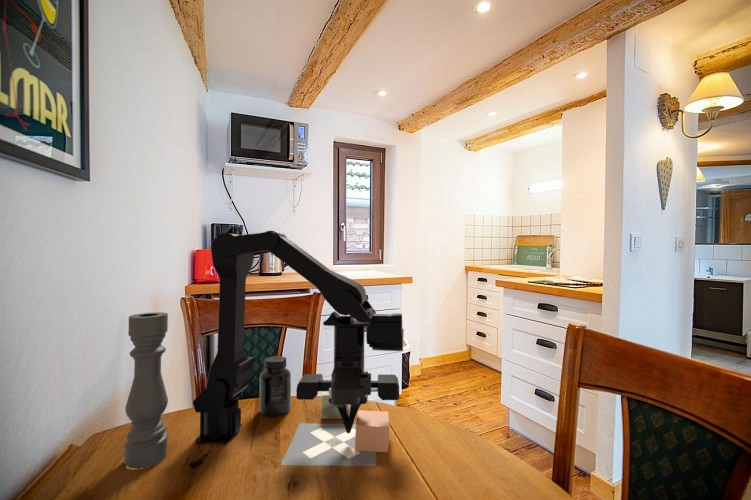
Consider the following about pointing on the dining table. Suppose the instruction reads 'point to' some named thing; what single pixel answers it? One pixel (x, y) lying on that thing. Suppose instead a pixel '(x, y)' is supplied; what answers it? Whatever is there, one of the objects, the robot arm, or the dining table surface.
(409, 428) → the dining table surface
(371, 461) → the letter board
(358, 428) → the terracotta block
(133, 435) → the candle holder
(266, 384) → the supplement bottle
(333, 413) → the sage cube
